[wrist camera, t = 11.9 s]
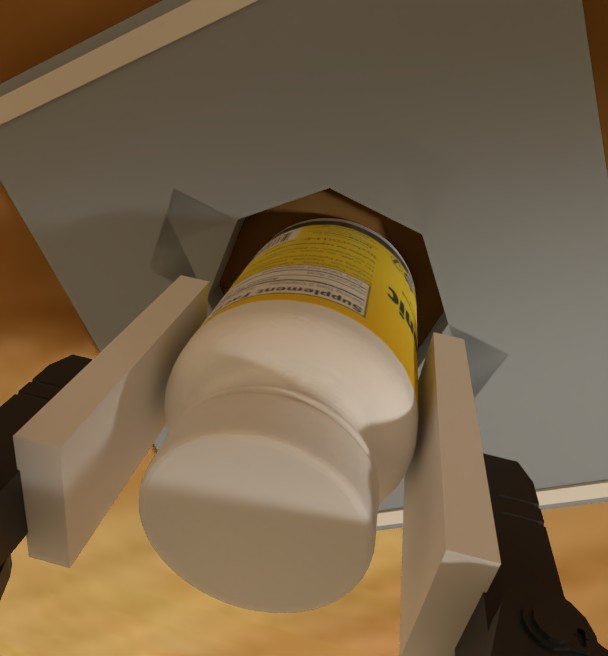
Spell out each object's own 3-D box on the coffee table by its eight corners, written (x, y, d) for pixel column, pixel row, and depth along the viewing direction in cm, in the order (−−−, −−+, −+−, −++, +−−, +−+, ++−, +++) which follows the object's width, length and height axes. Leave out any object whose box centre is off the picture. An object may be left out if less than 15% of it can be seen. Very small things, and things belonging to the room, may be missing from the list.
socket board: (539, -178, 11) (553, -203, 10) (640, 469, 18) (655, 497, 17) (-14, 102, 16) (-46, 106, 15) (225, 527, 23) (215, 552, 22)
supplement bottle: (401, 380, 18) (386, 672, 10) (247, 353, 19) (105, 602, 10) (434, 226, 16) (452, 437, 7) (254, 200, 16) (73, 366, 8)
